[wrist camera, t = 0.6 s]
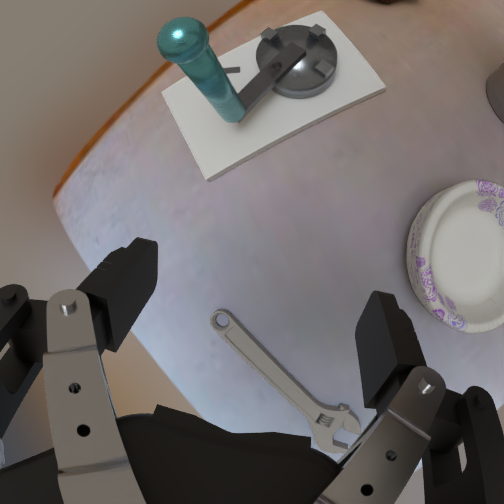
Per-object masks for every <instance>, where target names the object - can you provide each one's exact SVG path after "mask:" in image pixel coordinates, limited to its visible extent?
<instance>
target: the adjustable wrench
mask: <svg viewBox="0 0 504 504" xmlns="http://www.w3.org/2000/svg"><path fill="white" fill-rule="evenodd" d="M219 314H225V315H226V316H227V317H228V319H229V323H228V325H227V326H226V327H220V326H218V325H217V323H216V316H217V315H219ZM210 324H211V327H212V328H213V329H214V330H215V331H216V332H217V333H218V334H219V335H220V336H221V337H222V338H223V339H224V340H225V341H226V342H227V343H228V344H229V345H230V346H231V347H232V348H233V349H234V350H235V351H236V352H237V353H238V354H239V355H240V356H241V357H242V358H243V359H244V360H245V361H246V362H247V363H248V364H249V365H250V366H251V367H252V368H253V369H254V370H255V371H256V372H257V373H259V374H260V375H261V376H262V377H263V378H264V379H265V380H266V381H267V382H268V383H269V384H270V385H271V386H272V387H274V388H275V389H276V390H277V391H278V392H279V393H280V394H281V395H282V396H283V397H285V398H286V399H287V400H288V401H289V402H290V403H291V404H292V405H293V406H295V407H296V408H297V409H298V410H299V411H300V412H301V413H302V414H303V415H304V416H305V417H306V419H307V420H308V422H309V425H310V427H311V429H312V432H313V435H314V438H315V442H316V444H317V446H318V447H319V448H320V449H322V450H323V451H326V452H329V453H342V452H346V451H347V450H348V445H347V444H344V443H341V442H338V441H335V440H333V438H332V436H333V435H334V433H335V432H336V431H337V429H339V428H341V427H344V430H346V431H349V432H352V433H355V434H358V435H359V434H360V433H361V428H360V423H359V420H358V418H357V417H356V415H355V414H354V413H353V412H352V411H350V408H349V406H348V405H346V406H345V405H343V404H341V405H340V406H339V407H336V406H329V405H325V404H323V403H321V402H319V401H317V400H316V399H315V398H314V397H313V396H312V395H311V394H310V393H309V392H308V391H307V390H305V389H304V388H303V387H302V386H301V385H300V384H299V383H298V382H297V381H296V380H295V379H294V378H293V377H292V376H291V375H290V374H289V373H288V372H287V371H286V370H285V369H284V368H283V367H282V366H281V365H280V364H279V363H278V362H277V361H276V360H275V359H274V358H273V357H272V356H271V355H270V354H269V353H268V352H267V351H266V350H265V349H264V347H263V346H262V345H261V344H260V343H259V342H258V341H257V340H256V339H255V338H254V337H253V336H252V335H251V334H250V333H249V332H248V331H247V330H246V329H245V328H244V327H243V326H242V325H241V323H240V322H239V321H238V320H237V319H236V318H235V317H234V316H233V315H232V314H231V313H230V312H229V311H227V310H225V309H220V310H217V311H216V312H214V313H213V314H212V315H211V318H210ZM319 415H320V417H319ZM317 418H318V419H317Z"/></svg>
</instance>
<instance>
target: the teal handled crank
mask: <svg viewBox="0 0 504 504" xmlns="http://www.w3.org/2000/svg"><path fill="white" fill-rule="evenodd" d="M260 36H261V39H262V40H261V41H260V43H259V45H258V47H257V50H256V62H257V65H258V68H259V70H260V72H259V73H258V74H257V75H256V76H255V77H254V78H253V79H252V80H251V81H250V82H249V83H248V84H247V85H246V86H245V87H244V88H243V89H242V90H241V91H240V92H239V93H238V94H237V92H236V90H235V88H234V86H233V85H232V83H231V81H230V79H229V78H228V76H227V74H226V72H225V71H224V69H223V67H222V65H221V64H220V62H219V60H218V59H217V57H216V55H215V54H214V52H213V50H212V49H211V47H210V45H209V33H208V31H207V28H206V27H205V26H204V25H203V23H201V22H200V21H199V20H197V19H194V18H191V17H179V18H175V19H173V20H171V21H169V22H168V23H166V24H165V25H164V26H163V27H162V28H161V30H160V32H159V34H158V37H157V47H158V50H159V52H160V54H161V55H162V56H163V57H164V58H165V59H166V60H168V61H170V62H172V63H176V64H178V66H179V67H180V68H181V69H182V70H183V71H184V73H185V74H186V75H187V76H188V77H189V79H190V80H191V81H192V82H193V83H194V85H195V86H196V87H197V88H198V89H199V91H200V92H201V93H202V94H203V95H204V97H205V98H206V99H207V100H208V102H209V103H210V104H211V105H212V106H213V108H214V109H215V110H216V111H217V113H218V114H219V115H220V116H221V118H222V119H223V120H224V121H226V122H228V123H235V122H237V123H240V122H241V121H242V120H243V119H244V117H245V116H246V115H247V114H248V113H249V112H250V111H251V110H252V109H253V108H254V107H255V106H256V105H257V104H258V103H259V102H260V101H261V100H262V98H263V97H264V96H265V95H266V94H267V93H268V92H269V91H270V90H273V91H274V92H276V93H277V94H280V95H282V96H285V97H289V98H297V99H298V98H309V97H313V96H315V95H318V94H320V93H322V92H323V91H325V90H326V89H327V88H328V87H329V86H330V85H331V84H332V82H333V80H334V78H335V75H336V68H337V50H336V47H335V45H334V43H333V42H332V40H331V39H330V38H329V37H328V36H327V35H326V29H325V28H323V27H321V26H319V25H318V24H315V25H314V26H312V27H309V26H305V25H287V26H283V27H280V28H277V29H275V30H273V29H271V28H269V27H268V28H267V29H266V30H264V31H263V32H262V33H261V34H260Z"/></svg>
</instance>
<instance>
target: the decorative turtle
mask: <svg viewBox="0 0 504 504" xmlns="http://www.w3.org/2000/svg"><path fill="white" fill-rule="evenodd" d="M380 1H381V2H383V3H386V4H387V3H390V2H391V1H392V0H380Z"/></svg>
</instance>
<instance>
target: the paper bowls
mask: <svg viewBox="0 0 504 504" xmlns="http://www.w3.org/2000/svg"><path fill="white" fill-rule="evenodd" d="M407 269H408V273H409V274H408V275H409V279H410V282H411V285H412V288H413V290H414V292H415V294H416V296H417V298H418V299H419V300H420V302H421V303H422V305H423V306H424V307H425V308H426V309H427V310H428V311H429V312H430V313H431V314H432V315H433V316H435V317H436V318H437V319H439V320H440V321H442V322H443V323H444V324H446V325H447V326H449V327H450V328H452V329H454V330H456V331H459V332H463V333H469V334H473V333H474V334H475V333H483V332H487V331H490V330H492V329H494V328H496V327H498V326H500V325H502V324H503V323H504V188H503V187H502V186H500V185H498V184H496V183H493V182H490V181H486V180H469V181H465V182H461V183H459V184H456V185H454V186H452V187H449V188H446V189H444V190H442V191H440V192H439V193H437V194H435V195H434V196H433V197H431V198H430V199H429V200H428V201H427V202H426V204H425V205H424V206H423V207H422V208H421V210H420V211H419V212H418V214H417V216H416V218H415V219H414V221H413V223H412V225H411V228H410V232H409V236H408V240H407Z"/></svg>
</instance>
